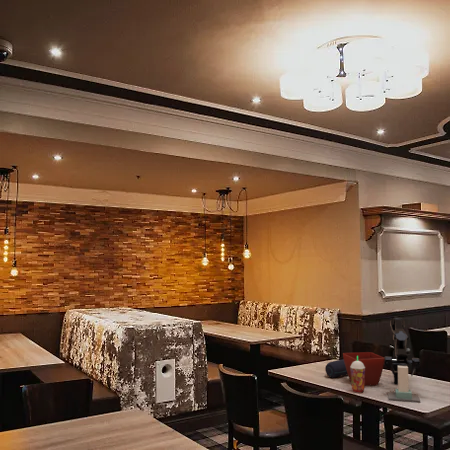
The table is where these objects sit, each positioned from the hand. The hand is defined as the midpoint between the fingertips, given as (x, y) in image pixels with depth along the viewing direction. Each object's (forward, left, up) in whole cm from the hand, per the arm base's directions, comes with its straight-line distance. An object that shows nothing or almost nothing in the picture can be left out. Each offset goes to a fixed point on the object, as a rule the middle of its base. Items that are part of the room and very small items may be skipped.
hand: (402, 375), depth 268 cm
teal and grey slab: (0, 0, -12) cm, 12 cm away
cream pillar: (0, 0, -8) cm, 8 cm away
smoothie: (-24, +8, -12) cm, 28 cm away
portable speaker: (-35, +45, -12) cm, 58 cm away
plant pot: (-21, +28, -12) cm, 37 cm away
